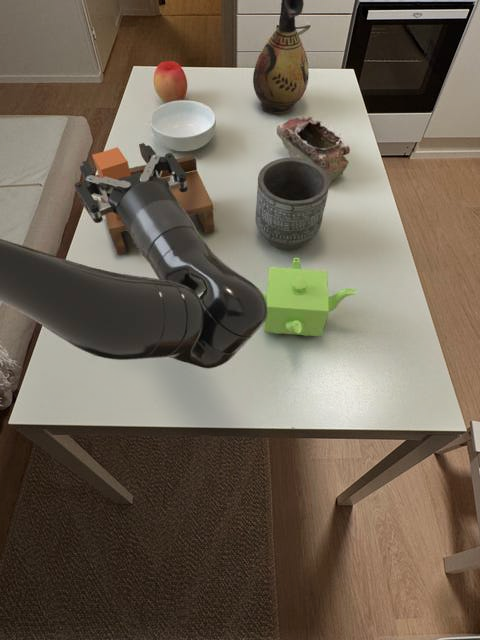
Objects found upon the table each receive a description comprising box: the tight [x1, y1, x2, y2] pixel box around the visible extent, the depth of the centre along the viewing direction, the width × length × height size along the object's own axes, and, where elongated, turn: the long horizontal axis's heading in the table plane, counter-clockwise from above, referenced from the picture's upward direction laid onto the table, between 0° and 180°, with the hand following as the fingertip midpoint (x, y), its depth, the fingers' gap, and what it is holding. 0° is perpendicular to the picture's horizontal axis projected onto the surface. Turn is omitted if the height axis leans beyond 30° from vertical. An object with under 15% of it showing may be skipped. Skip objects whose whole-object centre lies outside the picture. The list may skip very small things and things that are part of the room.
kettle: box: [263, 257, 358, 337], centre depth 76 cm, size 15×14×11 cm
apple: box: [153, 60, 188, 103], centre depth 119 cm, size 10×10×10 cm
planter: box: [255, 157, 331, 251], centre depth 87 cm, size 14×14×15 cm
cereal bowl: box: [149, 99, 217, 152], centre depth 109 cm, size 17×17×7 cm
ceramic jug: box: [252, 0, 310, 116], centre depth 110 cm, size 17×15×30 cm
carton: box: [91, 146, 131, 220], centre depth 81 cm, size 5×5×12 cm
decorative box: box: [276, 115, 351, 183], centre depth 103 cm, size 13×20×10 cm, turn 28°
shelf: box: [95, 154, 215, 255], centre depth 90 cm, size 22×14×11 cm, turn 110°
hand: (114, 157), depth 60 cm, fingers open, 8 cm apart
